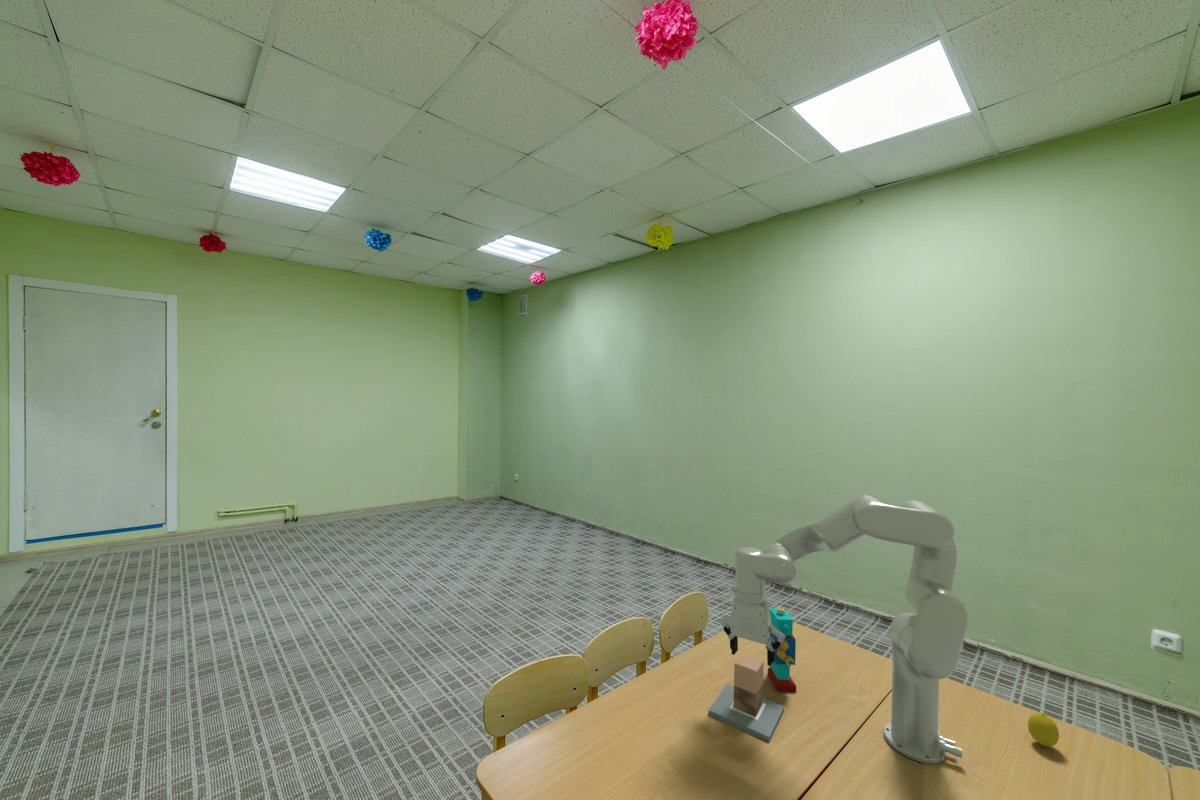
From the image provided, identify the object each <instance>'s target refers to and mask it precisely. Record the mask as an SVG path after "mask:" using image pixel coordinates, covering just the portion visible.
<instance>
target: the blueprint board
mask: <svg viewBox="0 0 1200 800" xmlns="http://www.w3.org/2000/svg"><path fill="white" fill-rule="evenodd" d="M733 707H734V685H732V684H729V683H727V684H726V685H725V686H724V687H723V689H722V690H721V692H720V693H719V695H718V696H717V697H716V699H715V700H714V702H713V703H712V704H711V706H710V707H709V709H708V711H707V712H708V714H707V715H709V716H711V717H713V718H715V719H718V720H720V721H721V722H724V723H726V724H728V725H731V726H733V727H735V728H738V729H739V730H742V731H745V732H747V733H749V734H751V735H753V736H756V737H757V738H760V739H762V740H764V741H767V742H771V740H772V737H773V735H774V733H775V731H776V729H777V727H778V724H780V721H781V719H782V716H783V715H784V713H785V706H784V705H782V704H779V703H778V702H777V703H776V702H774V701H772V700H769V699H766V698H764V697H763V704H762V706H761V708H760V710H759V712H758V714H757V716H756V717H755V716H752V715H750V714H748V713H745V712H743V711H740V710H738V709H736V708H733Z"/></svg>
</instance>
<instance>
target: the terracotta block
mask: <svg viewBox="0 0 1200 800" xmlns="http://www.w3.org/2000/svg"><path fill="white" fill-rule="evenodd" d="M733 670H734V672H733V675H734V676H733V677H734V679H733V686H736V687H739V688H741V689H744V690H746V691H749V692H751V693H754V694H757V693H758V691H759V689H760V688H761V686H762V684H763V685H764V660H761V659H758V658H755V657H752V656H749V655H747V654H743V653H741V654H740V656H738V658H737V660H736V661H735V662H734V668H733Z"/></svg>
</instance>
